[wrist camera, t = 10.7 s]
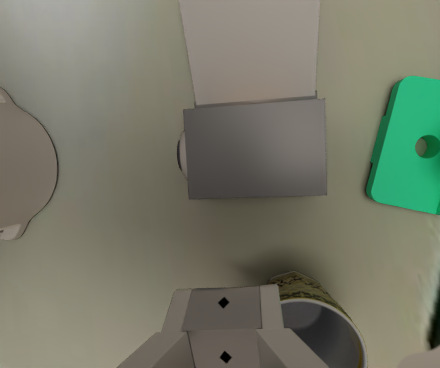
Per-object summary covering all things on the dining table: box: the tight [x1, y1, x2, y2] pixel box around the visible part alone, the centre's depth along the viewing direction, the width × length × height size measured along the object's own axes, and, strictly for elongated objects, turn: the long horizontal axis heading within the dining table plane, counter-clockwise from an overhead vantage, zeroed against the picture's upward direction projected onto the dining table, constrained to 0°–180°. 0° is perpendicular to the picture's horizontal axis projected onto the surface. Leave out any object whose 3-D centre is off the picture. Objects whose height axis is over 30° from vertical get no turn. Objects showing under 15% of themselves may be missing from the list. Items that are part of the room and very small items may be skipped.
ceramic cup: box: [267, 271, 368, 368], centre depth 30 cm, size 13×10×10 cm
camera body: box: [177, 98, 327, 199], centre depth 30 cm, size 13×8×7 cm, turn 93°
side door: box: [179, 0, 320, 109], centre depth 29 cm, size 12×2×13 cm
